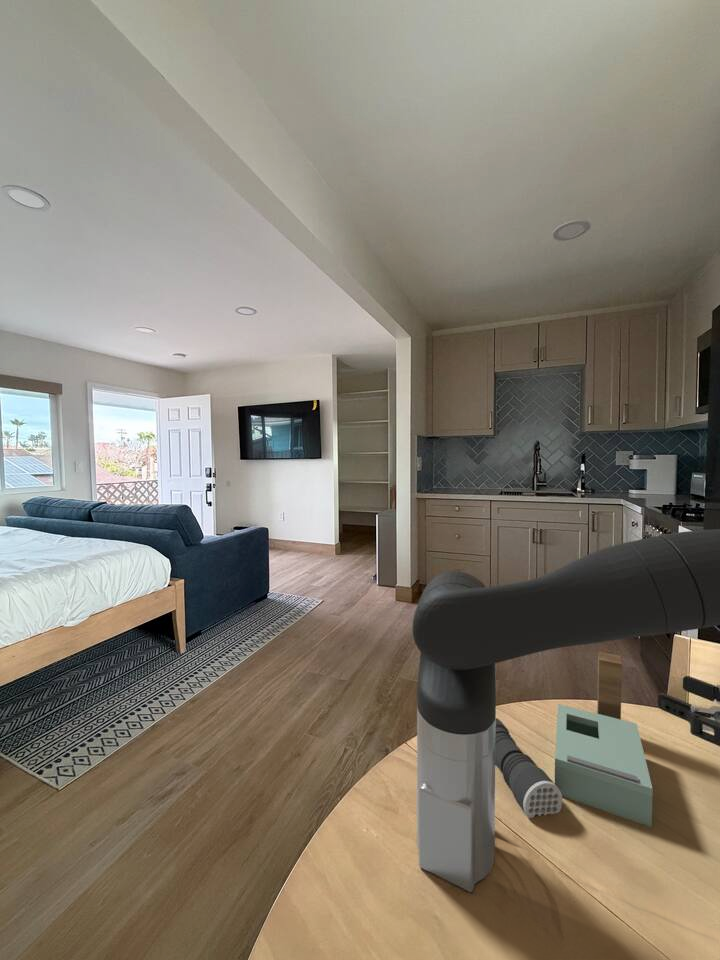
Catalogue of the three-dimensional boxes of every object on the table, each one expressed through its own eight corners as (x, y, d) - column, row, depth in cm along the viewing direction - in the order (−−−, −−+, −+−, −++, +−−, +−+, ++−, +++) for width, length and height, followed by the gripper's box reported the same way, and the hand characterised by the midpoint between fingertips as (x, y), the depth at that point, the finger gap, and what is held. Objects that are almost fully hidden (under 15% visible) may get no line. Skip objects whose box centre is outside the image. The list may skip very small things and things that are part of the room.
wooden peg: (620, 747, 65) (621, 664, 65) (597, 740, 67) (599, 659, 66) (618, 735, 68) (620, 655, 67) (596, 729, 69) (598, 651, 69)
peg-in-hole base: (651, 834, 50) (652, 786, 50) (554, 800, 55) (555, 756, 55) (635, 760, 62) (636, 721, 62) (557, 738, 67) (558, 702, 67)
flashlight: (470, 745, 66) (471, 713, 66) (500, 740, 67) (500, 709, 67) (525, 827, 51) (525, 787, 51) (562, 820, 52) (562, 780, 52)
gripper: (852, 705, 49) (691, 653, 63) (827, 750, 42) (650, 680, 55) (850, 764, 50) (690, 699, 63) (824, 819, 42) (649, 732, 56)
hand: (671, 690), depth 59 cm, fingers open, 8 cm apart
